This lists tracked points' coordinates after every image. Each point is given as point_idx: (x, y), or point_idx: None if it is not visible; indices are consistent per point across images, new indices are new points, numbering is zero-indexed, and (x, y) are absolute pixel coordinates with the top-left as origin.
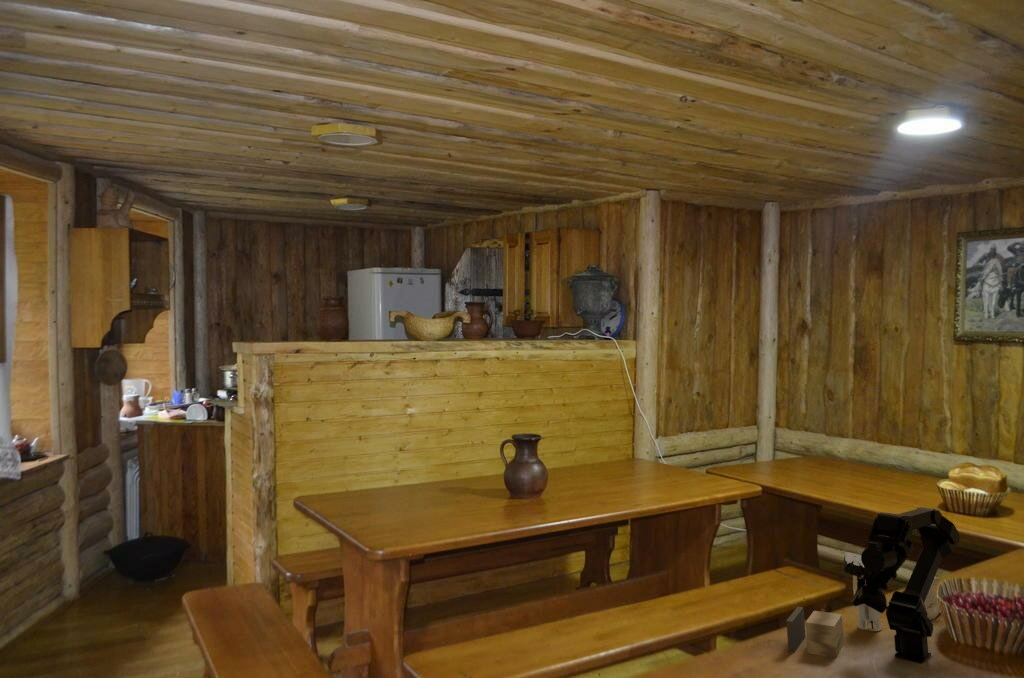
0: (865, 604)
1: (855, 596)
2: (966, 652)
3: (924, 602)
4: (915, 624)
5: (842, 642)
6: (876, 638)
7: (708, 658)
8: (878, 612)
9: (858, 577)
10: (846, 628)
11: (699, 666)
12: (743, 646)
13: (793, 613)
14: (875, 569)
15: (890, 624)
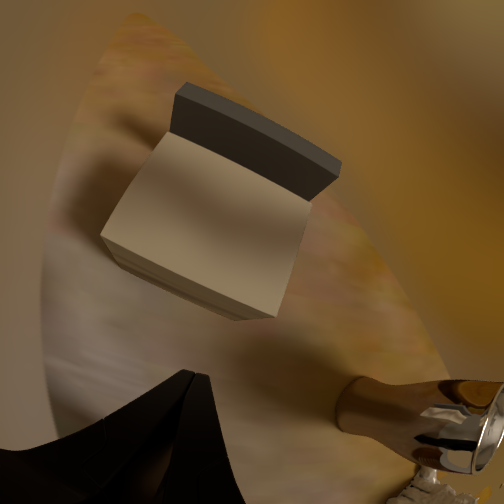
0: None
1: (149, 416)
2: None
3: (423, 496)
4: None
5: (217, 311)
6: (289, 421)
7: (160, 34)
8: (378, 441)
9: None
10: (354, 346)
11: (130, 26)
12: (214, 79)
13: (265, 120)
14: None
15: (154, 498)
